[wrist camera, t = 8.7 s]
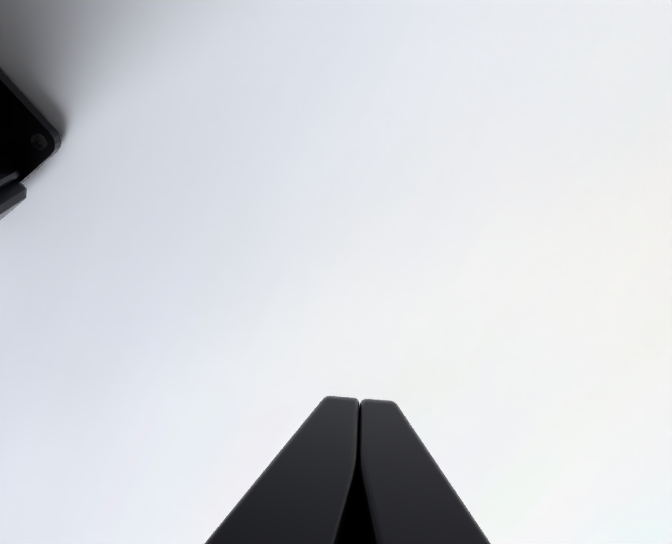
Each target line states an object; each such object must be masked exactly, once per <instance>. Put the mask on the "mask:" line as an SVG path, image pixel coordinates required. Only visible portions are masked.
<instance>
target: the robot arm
mask: <svg viewBox="0 0 672 544" xmlns="http://www.w3.org/2000/svg"><path fill="white" fill-rule="evenodd" d="M38 134H41V135H42V136H44V137H45V139H46V140H47V147H45V146H43V145H41V144H40V143H39V141H38V140H37V135H38ZM60 145H61V139H60V135H59V133H58V132H57V130H56V129H55V128H54V127H53V126H52V125H51V124H50V122H49V121H48V120H47V119H46V118H45V117H44V116H43V115H42V114H41V113H40V112H39V111H38V110H37V108H36V107H35V106H34V105H33V104H32V103H31V102H30V101H29V100H28V99H27V98H26V97H25V96H24V94H23V93H22V92H21V91H20V90H19V89H18V88H17V87H16V86H15V85H14V84H13V83H12V81H11V80H10V79H9V78H8V77H7V76H6V75H5V74H4V73H3V72H2V71H1V70H0V220H1V219H2V218H3V217H5V216H6V215H7V214H8V213H9V212H10V211H11V210H13V209H14V208H15V207H16V206H17V205H18V204H20V203H21V202H22V201H23V200H24V199H25V198H26V190H27V189H26V187H25V186H24V185H23V184H22V182H23V181H24V180H25V179H26V178H28V177H29V176H30V175H31V174H32V173H33V172H34V171H36V170H37V169H38V168H39V167H40V166H41V165H42V164H43V163H45V162H46V161H47V160H48V159H49V158H50V157H51V156H53V155H54V154H55V153H56V152H57V151H58V150H59V148H60ZM359 407H360V408H359ZM205 544H491V543H490V542H489V541H488V539H487V538H486V536H485V535H484V533H483V532H482V530H481V529H480V527H479V526H478V524H477V523H476V521H475V520H474V518H473V517H472V515H471V514H470V512H469V511H468V509H467V508H466V506H465V505H464V503H463V502H462V500H461V499H460V497H459V496H458V495H457V493H456V492H455V490H454V489H453V487H452V486H451V484H450V483H449V481H448V480H447V478H446V477H445V475H444V474H443V472H442V471H441V469H440V468H439V466H438V465H437V463H436V462H435V460H434V459H433V457H432V456H431V454H430V453H429V451H428V450H427V448H426V447H425V446H424V444H423V443H422V441H421V440H420V438H419V437H418V435H417V434H416V432H415V431H414V429H413V428H412V426H411V425H410V423H409V422H408V420H407V419H406V417H405V416H404V414H403V413H402V411H401V410H400V408H399V407H398V405H397V404H396V403H394V402H393V401H387V400H374V399H364V400H362V401H361V403H360V405H359V401H358V400H357V399H356V398H349V397H337V396H327V397H325V398H324V399H323V400H322V401H321V402H320V403H319V405H318V406H317V407H316V408H315V409H314V411H313V412H312V413H311V414H310V416H309V417H308V418H307V419H306V420H305V422H304V423H303V424H302V425H301V427H300V428H299V429H298V430H297V431H296V433H295V434H294V435H293V436H292V438H291V439H290V440H289V441H288V442H287V444H286V445H285V446H284V447H283V449H282V450H281V451H280V452H279V453H278V455H277V456H276V457H275V458H274V460H273V461H272V462H271V463H270V464H269V466H268V467H267V468H266V469H265V471H264V472H263V473H262V474H261V475H260V477H259V478H258V479H257V480H256V481H255V483H254V484H253V485H252V486H251V488H250V489H249V490H248V491H247V492H246V494H245V495H244V496H243V497H242V499H241V500H240V501H239V502H238V503H237V505H236V506H235V507H234V508H233V510H232V511H231V512H230V513H229V514H228V516H227V517H226V518H225V519H224V521H223V522H222V523H221V524H220V525H219V527H218V528H217V529H216V530H215V532H214V533H213V534H212V535H211V536H210V538H209V539H208V540H207V541H206V543H205Z"/></svg>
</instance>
